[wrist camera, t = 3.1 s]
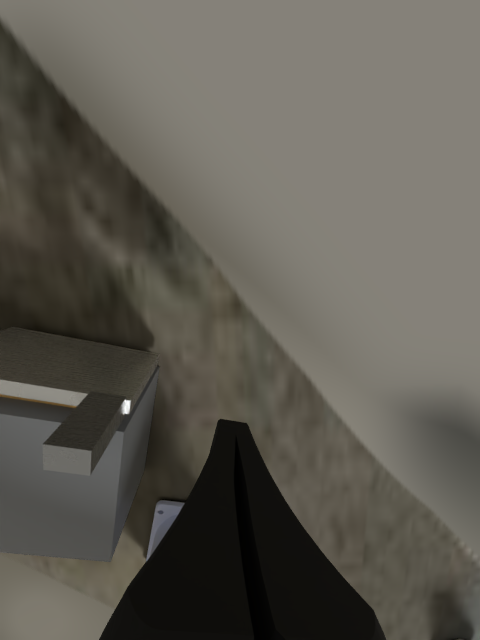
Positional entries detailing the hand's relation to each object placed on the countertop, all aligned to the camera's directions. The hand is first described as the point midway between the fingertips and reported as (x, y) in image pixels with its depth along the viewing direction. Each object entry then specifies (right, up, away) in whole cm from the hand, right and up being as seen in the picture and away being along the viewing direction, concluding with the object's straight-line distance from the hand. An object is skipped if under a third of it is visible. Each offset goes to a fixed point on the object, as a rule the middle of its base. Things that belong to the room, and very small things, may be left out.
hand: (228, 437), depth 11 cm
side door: (-9, +4, +4) cm, 11 cm away
